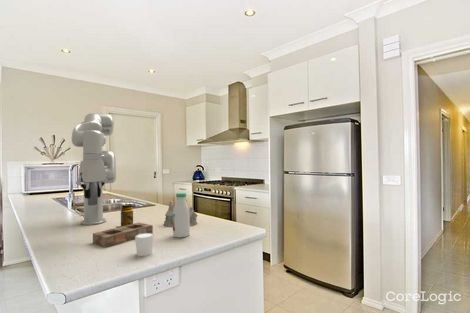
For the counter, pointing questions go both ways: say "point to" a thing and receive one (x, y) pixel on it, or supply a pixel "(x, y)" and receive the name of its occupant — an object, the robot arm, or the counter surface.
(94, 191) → the grey rounded cylinder
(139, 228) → the socket block
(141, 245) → the shot glass
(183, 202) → the milk bottle
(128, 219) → the condiment
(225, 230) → the counter surface
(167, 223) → the gray stone sculpture
